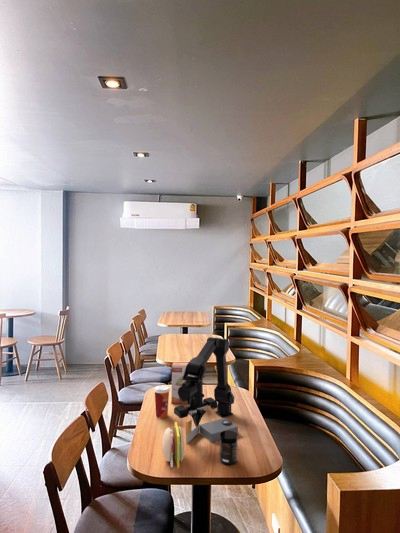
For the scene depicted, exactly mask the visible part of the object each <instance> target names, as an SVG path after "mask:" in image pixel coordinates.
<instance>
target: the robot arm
mask: <svg viewBox="0 0 400 533" xmlns="http://www.w3.org/2000/svg"><path fill="white" fill-rule="evenodd" d="M229 348H230V341H229V340H228V339H227V338H220V337H208V338H207V339H206V342H205V344H204V345H203V347H202V348H201V349H200V351H199V352H198V355H196V356H195V357H192V358H191V359H190V360H189V361H188V362H187V363H188V364H187V366H186V369H185V372H184V376H183V380H186V382H184V383H182V386H181V387H180V388H179V390H178V395H179V400H180V402H184V403H183V404H186V403H185V402H187V404H186V405H187V406H186V407H185V406H184V405H183V404H181V405H178V406H175V407H174V408H173V413H174V415H175V416H177V418H179V419H183V418H187V417H188V416H189V415H190V416H191V418H192V422H193V423H194V426H196V427H198V424H199V425H200V422H201V420H202V418H203V417H204V415H205V414H206V413H207V411H206V410H205V408H206V407H209V408H210V409H212V410H214V409H216V411H215V413H216V414H217V415H218V416H220V417H221V418H226V417H229V416H233V415H234V413H233V412H232V405H233V404H234V403H235V398H236V397H235V394H233V392H232V387H231V386H230V384H229V383H228V374H227V373H228V371H227V370H228V369H227V354H228V352H229V351H230V350H229ZM212 354H213V355H214V357H215V363H216V380H217V385H216V386H215V387H214V390H213V392H214V393H213V396H214V397H206V398H205V394H204V393H203V389H204V388H203V387H204V386H203V379H204V378H205V373H206V370H207V363H208V361H209V360H210V358H211V357H212ZM188 374H189V375H193V376H194V377H192V376H188ZM203 398H204V399H203Z"/></svg>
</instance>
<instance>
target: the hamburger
mask: <svg viewBox="0 0 400 533" xmlns="http://www.w3.org/2000/svg"><path fill="white" fill-rule="evenodd" d="M161 451H162V454H163V457H164V459H165V460H166V462H168V463H169V462H170V468H174V462H175V463H176V468H177V469H180V463H182V462H183V460H184V455H185V441H184V432H183V429H182V427H181V426H180V425H179V426H178V422H177V421H174V427H173V429H171V428H170V427H167V428H166V429H165V431H164V433H163V436H162V450H161Z"/></svg>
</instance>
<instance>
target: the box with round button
mask: <svg viewBox="0 0 400 533" xmlns="http://www.w3.org/2000/svg"><path fill="white" fill-rule="evenodd" d="M238 429H239V426H238V425H236V424H235V423H234V422H233V421H231V420H230V419H227V418H226V417H221V418H219V419H216V420H212V421H209V422H204V423H200V424H199V433H198V434H201V436H203V437H204V438H205V439H207V440H208V441H209V442H210V443H214V442H217V441H220V433H221V432H223V431H227V430H228V431H234V432H236V433H237V435H239V432H238V431H239V430H238Z"/></svg>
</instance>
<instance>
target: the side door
mask: <svg viewBox="0 0 400 533" xmlns="http://www.w3.org/2000/svg"><path fill="white" fill-rule="evenodd" d="M192 422H193V419H191V418H189V419H187V420H186V421H185V443H186V444H187V443H189V442H190V441H191V440H192V439H193V438H195V437H196V435H198V434H200V433H199V425H200V423H199V424H198V427H196V426H195V425H194V426H193V427H192V424H193V423H192Z"/></svg>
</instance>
